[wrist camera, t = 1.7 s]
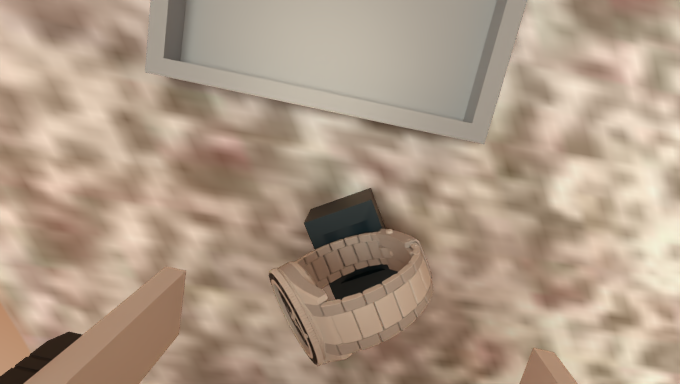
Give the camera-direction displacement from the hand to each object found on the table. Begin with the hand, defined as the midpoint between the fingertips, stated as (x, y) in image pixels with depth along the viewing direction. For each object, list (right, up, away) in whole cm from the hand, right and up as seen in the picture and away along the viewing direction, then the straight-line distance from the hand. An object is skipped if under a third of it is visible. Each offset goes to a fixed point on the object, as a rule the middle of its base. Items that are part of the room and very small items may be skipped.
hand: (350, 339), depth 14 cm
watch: (+1, +3, +12) cm, 12 cm away
